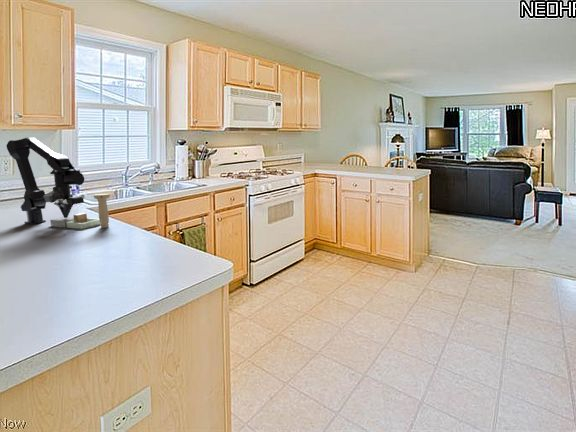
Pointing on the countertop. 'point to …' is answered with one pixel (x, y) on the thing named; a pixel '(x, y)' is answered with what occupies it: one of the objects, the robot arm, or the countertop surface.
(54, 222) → the slate platform
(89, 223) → the tray
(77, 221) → the tan block
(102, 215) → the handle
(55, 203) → the robot arm
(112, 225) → the countertop surface
